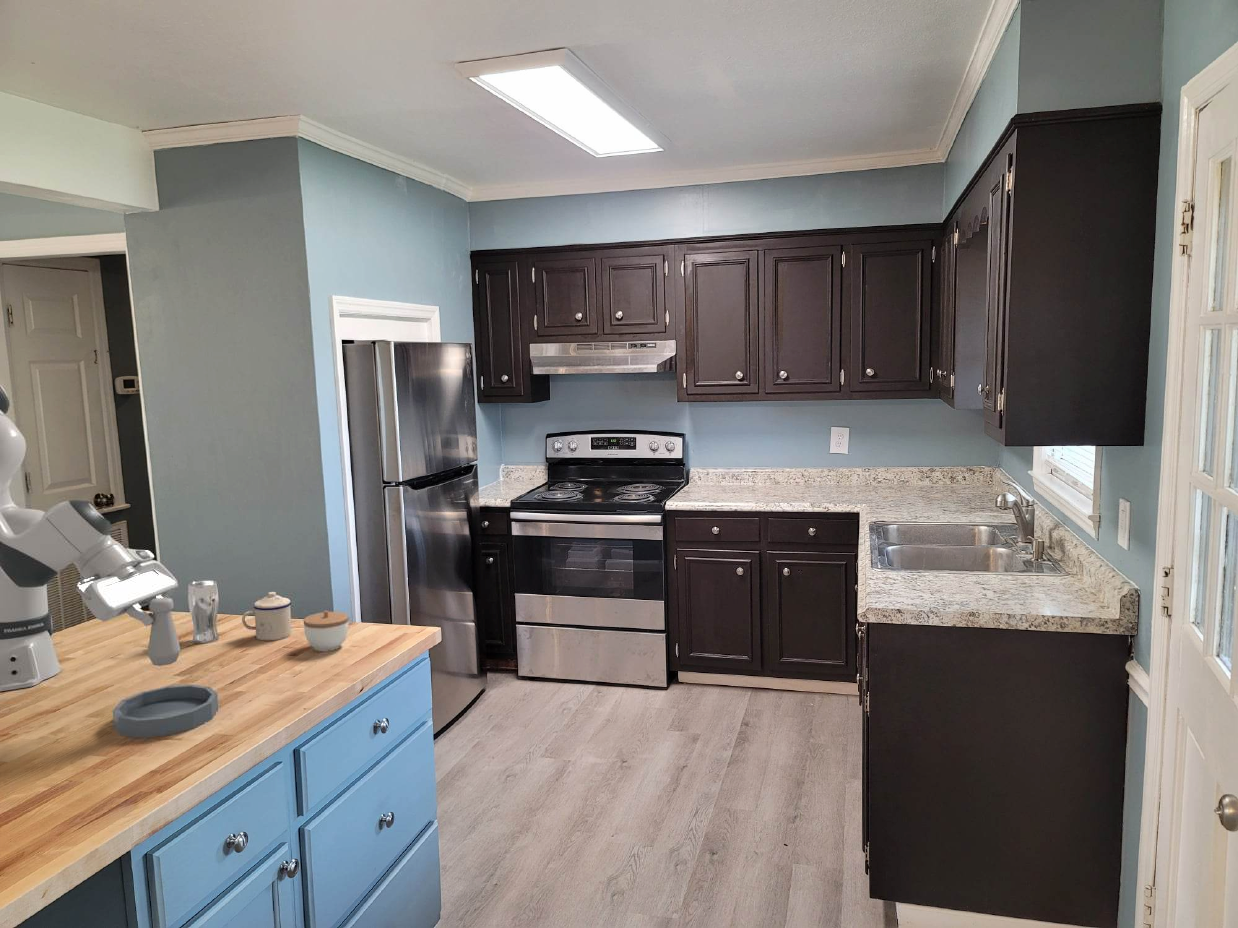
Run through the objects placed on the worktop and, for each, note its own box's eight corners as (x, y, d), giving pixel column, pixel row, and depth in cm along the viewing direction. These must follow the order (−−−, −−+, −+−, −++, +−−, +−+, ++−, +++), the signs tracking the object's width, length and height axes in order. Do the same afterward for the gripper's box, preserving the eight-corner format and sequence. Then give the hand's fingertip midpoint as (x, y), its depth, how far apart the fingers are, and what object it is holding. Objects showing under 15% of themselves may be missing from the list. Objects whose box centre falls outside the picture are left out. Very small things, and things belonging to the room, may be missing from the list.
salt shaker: (156, 657, 173) (152, 595, 172) (185, 656, 174) (182, 594, 172) (143, 667, 167) (138, 603, 166) (173, 666, 168) (169, 602, 167)
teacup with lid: (291, 628, 231) (289, 586, 229) (293, 638, 222) (291, 594, 221) (243, 634, 226) (240, 591, 225) (242, 644, 218) (240, 600, 216)
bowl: (127, 745, 159) (126, 727, 159) (106, 716, 173) (105, 700, 172) (228, 719, 171) (227, 702, 171) (201, 694, 184) (200, 678, 184)
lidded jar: (319, 639, 222) (318, 604, 220) (357, 642, 219) (356, 606, 218) (296, 652, 211) (294, 616, 210) (335, 655, 209) (334, 618, 208)
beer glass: (208, 644, 217) (205, 587, 216) (184, 643, 219) (181, 585, 217) (226, 636, 224) (223, 580, 222) (203, 634, 225) (199, 579, 224)
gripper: (81, 571, 159) (132, 624, 159) (155, 548, 179) (200, 596, 179) (61, 594, 160) (111, 647, 160) (137, 568, 180) (182, 615, 180)
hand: (159, 619), depth 170 cm, fingers closed on salt shaker, 3 cm apart
